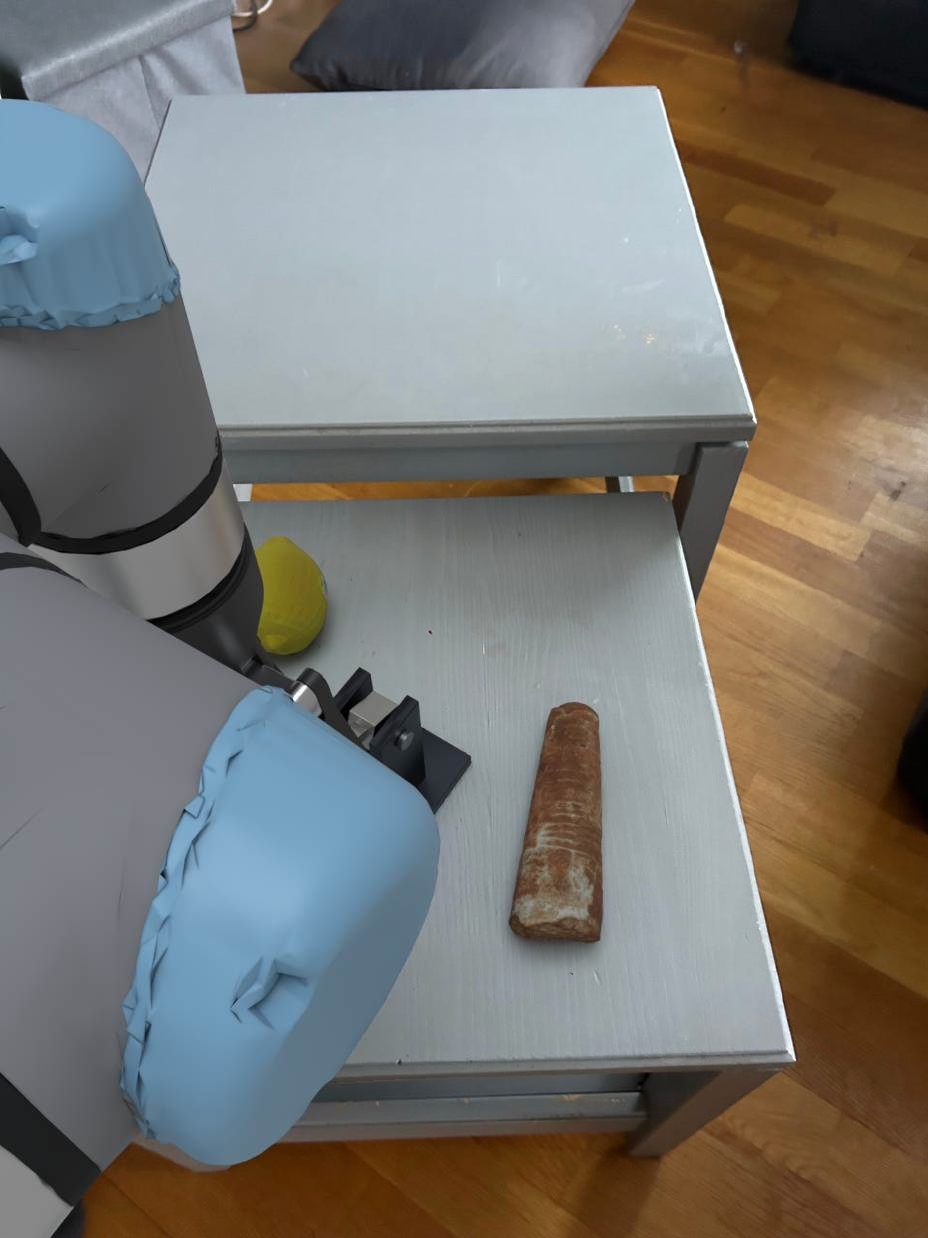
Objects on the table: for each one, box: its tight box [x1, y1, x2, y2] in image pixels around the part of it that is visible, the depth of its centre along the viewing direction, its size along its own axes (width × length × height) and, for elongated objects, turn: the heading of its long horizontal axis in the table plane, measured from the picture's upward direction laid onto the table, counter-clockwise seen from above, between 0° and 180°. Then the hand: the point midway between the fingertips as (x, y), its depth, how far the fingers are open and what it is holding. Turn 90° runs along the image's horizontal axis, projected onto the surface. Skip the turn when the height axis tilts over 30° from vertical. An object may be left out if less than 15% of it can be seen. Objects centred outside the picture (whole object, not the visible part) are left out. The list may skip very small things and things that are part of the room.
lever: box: [347, 690, 399, 750], centre depth 60 cm, size 13×6×2 cm, turn 147°
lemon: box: [254, 535, 329, 656], centre depth 79 cm, size 11×8×8 cm
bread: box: [508, 701, 604, 944], centre depth 69 cm, size 6×19×6 cm, turn 169°
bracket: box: [333, 666, 472, 815], centre depth 68 cm, size 11×9×13 cm
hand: (252, 789), depth 53 cm, fingers open, 13 cm apart
